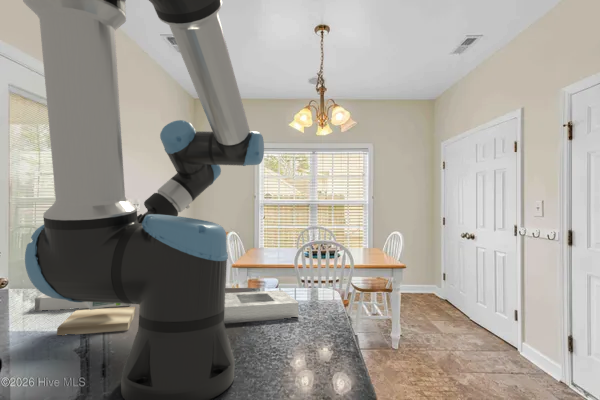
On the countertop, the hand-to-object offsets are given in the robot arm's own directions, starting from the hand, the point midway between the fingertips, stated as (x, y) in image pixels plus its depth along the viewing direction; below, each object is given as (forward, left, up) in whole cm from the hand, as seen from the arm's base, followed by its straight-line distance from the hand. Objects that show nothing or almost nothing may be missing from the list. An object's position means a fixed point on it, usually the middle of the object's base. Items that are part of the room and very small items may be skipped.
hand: (83, 278), depth 70 cm
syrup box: (+1, -3, -6) cm, 7 cm away
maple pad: (+1, -3, -10) cm, 10 cm away
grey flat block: (+1, -36, -10) cm, 38 cm away
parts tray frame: (+21, +3, -10) cm, 23 cm away
